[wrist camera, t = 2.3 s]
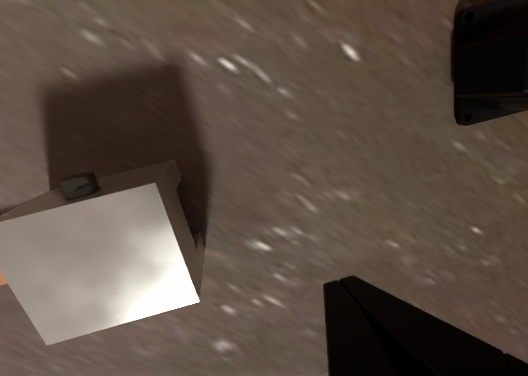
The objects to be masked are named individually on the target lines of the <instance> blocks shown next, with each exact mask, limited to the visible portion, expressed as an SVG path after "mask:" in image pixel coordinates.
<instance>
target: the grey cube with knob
mask: <svg viewBox="0 0 528 376" xmlns="http://www.w3.org/2000/svg"><path fill="white" fill-rule="evenodd" d="M181 179H182V178H181V175H180V172H179V169H178V166H177V163H176V160H175V159H174V160H170V161H166V162H162V163H158V164H154V165H150V166H146V167H142V168H137V169H133V170H129V171H125V172H121V173H117V174H113V175H109V176H105V177H101V178H97V179H96V177H95V174H94V172H93V171H92V172H86V173H82V174H78V175H75V176H71V177H68V178H65V179H63V180H60V181H58V182H57V185H58V187H59V188H57V189H53V190H50V191H48V192H46V193H44V194H42V195H40V196H38V197H36V198H34V199H32V200H30V201H28V202H26V203H24V204H22V205H20V206H18V207H16V208H14V209H12V210H10V211H8V212H6V213H4V214H2V215H0V272H1V273H2V275H3V277H4V278H5V280H6V281H7V283H8V284H9V286H10V288H11V289H12V291H13V292H14V294H15V296H16V297H17V299H18V300H19V302H20V304H21V305H22V307H23V308H24V310H25V312H26V313H27V315H28V316H29V318H30V319H31V321H32V323H33V324H34V326H35V327H36V329H37V331H38V332H39V334H40V335H41V337H42V339H43V340H44V342H45V343H46V345H50V344H54V343H57V342H61V341H64V340H67V339H71V338H74V337H78V336H81V335H85V334H88V333H92V332H95V331H99V330H102V329H106V328H109V327H113V326H116V325H120V324H123V323H127V322H130V321H134V320H137V319H141V318H144V317H147V316H151V315H154V314H158V313H161V312H165V311H168V310H172V309H175V308H179V307H182V306H186V305H189V304H193V303H196V302H199V299H200V290H201V282H202V273H203V264H204V255H205V247H204V244H203V241H202V238H201V235H200V233H196V234H192V235H191V232H190V229H189V226H188V223H187V220H186V217H185V214H184V212H183V209H182V206H181V203H180V200H179V197H178V194H177V191H176V189H177V187H178V185H179V183H180V181H181Z"/></svg>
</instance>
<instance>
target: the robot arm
mask: <svg viewBox="0 0 528 376" xmlns="http://www.w3.org/2000/svg"><path fill="white" fill-rule="evenodd" d="M466 15H467V17H468V20H467V21H466V19H465V17H466ZM526 110H528V0H498V1H493V2H489V3H485V4H480V5H476V6H471V7H468V8H466V9H463V10H461V11H460V12H459V13H458V14H457V16H456V21H455V119H456V122H457V124H459V125H464V126H467V125H472V124H476V123H479V122H483V121H487V120H491V119H495V118H499V117H503V116H506V115H510V114H514V113H518V112H522V111H526ZM465 115H466V119H464V118H465ZM323 292H324V308H325V325H326V341H327V358H328V374H329V376H528V363H526V362H524V361H522V360H520V359H518V358H516V357H514V356H512V355H510V354H508V353H505V354H504V353H503V352H502V350H500V349H498V348H496V347H494V346H492V345H490V344H488V343H486V342H484V341H482V340H480V339H478V338H476V337H474V336H472V335H470V334H468V333H466V332H464V331H462V330H460V329H458V328H456V327H454V326H452V325H450V324H449V323H447V322H445V321H443V320H441V319H439V318H437V317H435V316H433V315H431V314H429V313H427V312H425V311H423V310H421V309H419V308H417V307H415V306H413V305H411V304H409V303H407V302H405V301H403V300H401V299H399V298H397V297H395V296H393V295H391V294H389V293H387V292H385V291H383V290H381V289H379V288H377V287H375V286H373V285H371V284H369V283H368V282H366V281H364V280H362V279H360V278H358V277H356V276H348V277H345V278H341V279H340V280H339V281H337V280H334V281H331V282H327V283H324V285H323Z"/></svg>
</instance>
